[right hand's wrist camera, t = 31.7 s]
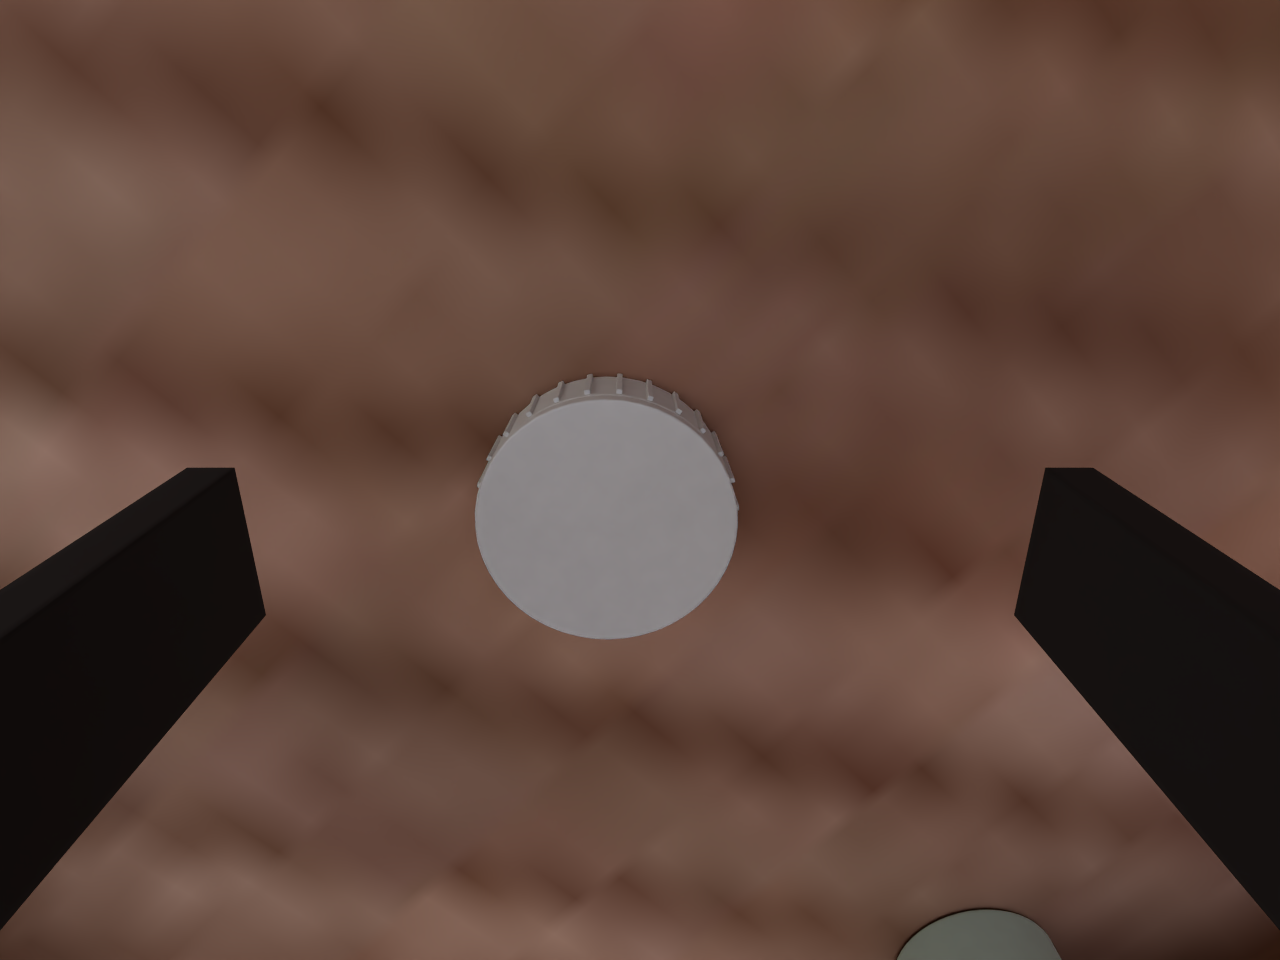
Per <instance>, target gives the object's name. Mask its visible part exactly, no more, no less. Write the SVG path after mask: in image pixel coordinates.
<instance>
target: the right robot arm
mask: <svg viewBox="0 0 1280 960" xmlns="http://www.w3.org/2000/svg"><path fill="white" fill-rule="evenodd" d="M265 616H266V613H265V609H264V604H263V599H262V595H261V590H260V585H259V580H258V576H257V571H256V566H255V562H254V557H253V552H252V548H251V543H250V538H249V533H248V529H247V524H246V519H245V515H244V510H243V505H242V501H241V496H240V491H239V486H238V482H237V477H236V472H235V468H186V469H184V470H183V471H181V472H180V473H178V474H177V475H175V476H174V477H172V478H171V479H169V480H168V481H166V482H165V483H163V484H162V485H160V486H158V487H157V488H155V489H154V490H152V491H151V492H149V493H148V494H146V495H145V496H143V497H142V498H140V499H139V500H137V501H136V502H134V503H133V504H131V505H129V506H128V507H126V508H125V509H123V510H122V511H120V512H119V513H117V514H116V515H114V516H113V517H111V518H110V519H108V520H107V521H105V522H103V523H102V524H100V525H99V526H97V527H96V528H94V529H93V530H91V531H90V532H88V533H87V534H85V535H84V536H82V537H81V538H79V539H78V540H76V541H74V542H73V543H71V544H70V545H68V546H67V547H65V548H64V549H62V550H61V551H59V552H58V553H56V554H55V555H53V556H52V557H50V558H48V559H47V560H45V561H44V562H42V563H41V564H39V565H38V566H36V567H35V568H33V569H32V570H30V571H29V572H27V573H26V574H24V575H23V576H21V577H19V578H18V579H16V580H15V581H13V582H12V583H10V584H9V585H7V586H6V587H4V588H3V589H1V590H0V930H1V929H2V928H3V926H4V925H5V924H6V923H7V922H8V920H9V919H10V918H11V917H12V916H13V914H14V913H15V912H16V911H17V910H18V909H19V907H20V906H21V905H22V904H23V903H24V901H25V900H26V899H27V898H28V897H29V895H30V894H31V893H32V892H33V891H34V890H35V888H36V887H37V886H38V885H39V884H40V882H41V881H42V880H43V879H44V878H45V877H46V875H47V874H48V873H49V872H50V871H51V869H52V868H53V867H54V866H55V865H56V863H57V862H58V861H59V860H60V859H61V858H62V856H63V855H64V854H65V853H66V852H67V850H68V849H69V848H70V847H71V846H72V844H73V843H74V842H75V841H76V840H77V839H78V837H79V836H80V835H81V834H82V833H83V831H84V830H85V829H86V828H87V827H88V826H89V824H90V823H91V822H92V821H93V820H94V818H95V817H96V816H97V815H98V814H99V812H100V811H101V810H102V809H103V808H104V807H105V805H106V804H107V803H108V802H109V801H110V799H111V798H112V797H113V796H114V795H115V793H116V792H117V791H118V790H119V789H120V788H121V786H122V785H123V784H124V783H125V782H126V780H127V779H128V778H129V777H130V776H131V774H132V773H133V772H134V771H135V770H136V769H137V767H138V766H139V765H140V764H141V763H142V761H143V760H144V759H145V758H146V757H147V756H148V754H149V753H150V752H151V751H152V750H153V748H154V747H155V746H156V745H157V744H158V742H159V741H160V740H161V739H162V738H163V737H164V735H165V734H166V733H167V732H168V731H169V729H170V728H171V727H172V726H173V725H174V723H175V722H176V721H177V720H178V719H179V718H180V716H181V715H182V714H183V713H184V712H185V710H186V709H187V708H188V707H189V706H190V705H191V703H192V702H193V701H194V700H195V699H196V697H197V696H198V695H199V694H200V693H201V691H202V690H203V689H204V688H205V687H206V686H207V684H208V683H209V682H210V681H211V680H212V678H213V677H214V676H215V675H216V674H217V672H218V671H219V670H220V669H221V668H222V667H223V665H224V664H225V663H226V662H227V661H228V659H229V658H230V657H231V656H232V655H233V654H234V652H235V651H236V650H237V649H238V648H239V646H240V645H241V644H242V643H243V642H244V640H245V639H246V638H247V637H248V636H249V635H250V633H251V632H252V631H253V630H254V629H255V627H256V626H257V625H258V624H259V623H260V621H261V620H262V619H263V618H264V617H265ZM1014 616H1015V617H1016V618H1017V619H1018V620H1019V621H1020V623H1021V624H1022V625H1023V626H1024V627H1025V629H1026V630H1027V631H1028V632H1029V633H1030V635H1031V636H1032V637H1033V638H1034V639H1035V640H1036V642H1037V643H1038V644H1039V645H1040V646H1041V648H1042V649H1043V650H1044V651H1045V652H1046V654H1047V655H1048V656H1049V657H1050V658H1051V659H1052V661H1053V662H1054V663H1055V664H1056V665H1057V667H1058V668H1059V669H1060V670H1061V671H1062V672H1063V674H1064V675H1065V676H1066V677H1067V678H1068V680H1069V681H1070V682H1071V683H1072V684H1073V686H1074V687H1075V688H1076V689H1077V690H1078V691H1079V693H1080V694H1081V695H1082V696H1083V697H1084V699H1085V700H1086V701H1087V702H1088V703H1089V705H1090V706H1091V707H1092V708H1093V709H1094V710H1095V712H1096V713H1097V714H1098V715H1099V716H1100V718H1101V719H1102V720H1103V721H1104V722H1105V723H1106V725H1107V726H1108V727H1109V728H1110V729H1111V731H1112V732H1113V733H1114V734H1115V735H1116V737H1117V738H1118V739H1119V740H1120V741H1121V742H1122V744H1123V745H1124V746H1125V747H1126V748H1127V750H1128V751H1129V752H1130V753H1131V754H1132V756H1133V757H1134V758H1135V759H1136V760H1137V761H1138V763H1139V764H1140V765H1141V766H1142V767H1143V769H1144V770H1145V771H1146V772H1147V773H1148V774H1149V776H1150V777H1151V778H1152V779H1153V780H1154V782H1155V783H1156V784H1157V785H1158V786H1159V788H1160V789H1161V790H1162V791H1163V792H1164V793H1165V795H1166V796H1167V797H1168V798H1169V799H1170V801H1171V802H1172V803H1173V804H1174V805H1175V807H1176V808H1177V809H1178V810H1179V811H1180V812H1181V814H1182V815H1183V816H1184V817H1185V818H1186V820H1187V821H1188V822H1189V823H1190V824H1191V825H1192V827H1193V828H1194V829H1195V830H1196V831H1197V833H1198V834H1199V835H1200V836H1201V837H1202V839H1203V840H1204V841H1205V842H1206V843H1207V844H1208V846H1209V847H1210V848H1211V849H1212V850H1213V852H1214V853H1215V854H1216V855H1217V856H1218V858H1219V859H1220V860H1221V861H1222V862H1223V863H1224V865H1225V866H1226V867H1227V868H1228V869H1229V871H1230V872H1231V873H1232V874H1233V875H1234V877H1235V878H1236V879H1237V880H1238V881H1239V882H1240V884H1241V885H1242V886H1243V887H1244V888H1245V890H1246V891H1247V892H1248V893H1249V894H1250V895H1251V897H1252V898H1253V899H1254V900H1255V901H1256V903H1257V904H1258V905H1259V906H1260V907H1261V909H1262V910H1263V911H1264V912H1265V913H1266V914H1267V916H1268V917H1269V918H1270V919H1271V920H1272V922H1273V923H1274V924H1275V925H1276V926H1277V928H1278V929H1279V930H1280V590H1279V589H1277V588H1276V587H1274V586H1273V585H1271V584H1270V583H1268V582H1267V581H1265V580H1264V579H1262V578H1261V577H1259V576H1257V575H1256V574H1254V573H1253V572H1251V571H1250V570H1248V569H1247V568H1245V567H1244V566H1242V565H1241V564H1239V563H1238V562H1236V561H1235V560H1233V559H1232V558H1230V557H1228V556H1227V555H1225V554H1224V553H1222V552H1221V551H1219V550H1218V549H1216V548H1215V547H1213V546H1212V545H1210V544H1209V543H1207V542H1206V541H1204V540H1202V539H1201V538H1199V537H1198V536H1196V535H1195V534H1193V533H1192V532H1190V531H1189V530H1187V529H1186V528H1184V527H1183V526H1181V525H1180V524H1178V523H1177V522H1175V521H1173V520H1172V519H1170V518H1169V517H1167V516H1166V515H1164V514H1163V513H1161V512H1160V511H1158V510H1157V509H1155V508H1154V507H1152V506H1151V505H1149V504H1147V503H1146V502H1144V501H1143V500H1141V499H1140V498H1138V497H1137V496H1135V495H1134V494H1132V493H1131V492H1129V491H1128V490H1126V489H1125V488H1123V487H1122V486H1120V485H1118V484H1117V483H1115V482H1114V481H1112V480H1111V479H1109V478H1108V477H1106V476H1105V475H1103V474H1102V473H1100V472H1099V471H1097V470H1096V469H1094V468H1045V472H1044V477H1043V482H1042V486H1041V491H1040V496H1039V501H1038V505H1037V510H1036V515H1035V519H1034V524H1033V529H1032V533H1031V538H1030V543H1029V548H1028V552H1027V557H1026V562H1025V566H1024V571H1023V576H1022V581H1021V585H1020V590H1019V595H1018V599H1017V604H1016V609H1015V613H1014Z"/></svg>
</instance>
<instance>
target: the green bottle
mask: <svg viewBox="0 0 1280 960" xmlns="http://www.w3.org/2000/svg"><path fill="white" fill-rule="evenodd" d="M897 960H1062V959H1061V958H1060V956H1059V954H1058V952H1057V950H1056V949H1055V947H1054V945H1053V943H1052V942H1051V940H1050V938H1049V936H1048V935H1047V934H1046V932H1045V931H1044V930H1043V929H1042V928H1041V927H1039V926H1038V925H1037V924H1036V923H1034V922H1033V921H1031V920H1030V919H1028V918H1026V917H1024V916H1021V915H1019V914H1015V913H1012V912H1008V911H1002V910H992V909H987V910H972V911H966V912H961V913H957V914H954V915H950V916H947V917H945V918H943V919H940V920H938V921H936V922H934V923H932V924H930V925H928V926H927V927H925V928H924V929H922V930H921V931H919V932H918V933H917V934H916V935H915V936H913V937H912V938H911V939H910V940H909V942H908V943H907V944H906V945H905V946H904V948H903V949H902V950H901V952H900V954H899V956H898V958H897Z"/></svg>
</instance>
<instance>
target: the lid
mask: <svg viewBox="0 0 1280 960" xmlns="http://www.w3.org/2000/svg"><path fill="white" fill-rule="evenodd" d="M723 455H724V453H723V450H722V447H721V445H720V442H719V439H718V437H717V434H716V432H715V431H713V432H710V430H709V429H708V427H707V426H706V424H705V423H704V422H703V419H702V416H701V413H700V411H699V410H698V409H696V410H695V411H693V410H692V409H691V408H690V407H689V406H688V405H686V404H685V403H684V402H683V401H681V400H680V399H679V396H678V393H676V392H675V391H674V392H673V393H672V394H671V393H669V392H667V391H665V390H663V389H661V388H659V387H657V386H654V385H652V381H651V380H648V379H647V380H646V383H645V382H642V381H639V380H634V379H629V378H623V374H619V373H618V374H617V377H593V374H588V375H587V378H586V379H581V380H576V381H573V382H570V383H567V384H565V383H564V381H561V382H559V383H558V386H557V387H556V388H554V389H552V390H550V391H548V392H546V393H544V394H543V395H541V396H540V397H539V396H538V394H536V395H534V396H533V398H532V400H531V402H530V404H529V405H528V406H527V407H526V408H525V409H523V410H522V411H521V412H520V413H519V414H517V413H514V414H513V415H512V417H511V419H510V421H509V423H508V425H507V427H506V429H505V431H504V433H503V436H500V435H498V437H497V439H496V441H495V443H494V445H493V447H492V449H491V451H490V453H489V455H488V457H487V459H486V460H488V463H487V465H486V467H485V469H484V471H483V473H482V475H481V477H480V479H479V481H478V484H477V487H478V488H479V491H478V494H477V500H476V507H475V530H476V536H477V542H478V546H479V549H480V552H481V556H482V559H483V561H484V563H485V565H486V567H487V569H488V571H489V573H490V575H491V576H492V578H493V579H494V581H495V583H496V584H497V586H498V587H499V588H500V589H501V591H502V592H503V593H504V594H505V595H506V596H507V598H508V599H509V600H510V601H512V602H513V603H514V604H515V605H516V606H517V607H518V608H519V609H520V610H522V611H523V612H525V613H526V614H527V615H529V616H530V617H532V618H533V619H535V620H537V621H539V622H540V623H542V624H544V625H546V626H548V627H551V628H553V629H556V630H558V631H560V632H564V633H567V634H571V635H574V636H579V637H585V638H592V639H623V638H630V637H635V636H641V635H644V634H647V633H651V632H654V631H657V630H659V629H662V628H664V627H666V626H668V625H671V624H672V623H674V622H676V621H678V620H679V619H681V618H683V617H684V616H686V615H687V614H688V613H690V612H691V611H692V610H694V609H695V608H696V607H697V606H698V605H699V604H701V603H702V602H703V601H704V600H705V599H706V598H707V597H708V596H709V594H710V593H711V592H712V590H713V589H714V588H715V587H716V585H717V584H718V583H719V581H720V579H721V578H722V576H723V574H724V573H725V571H726V569H727V566H728V564H729V562H730V559H731V557H732V554H733V550H734V547H735V543H736V537H737V529H738V510H739V504H738V501H737V499H736V496H735V493H734V490H733V486H732V483H734V482H735V479H734V476H733V473H732V471H731V468H730V465H729V463H728V460H727V457H726V456H723ZM722 456H723V457H722Z"/></svg>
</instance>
